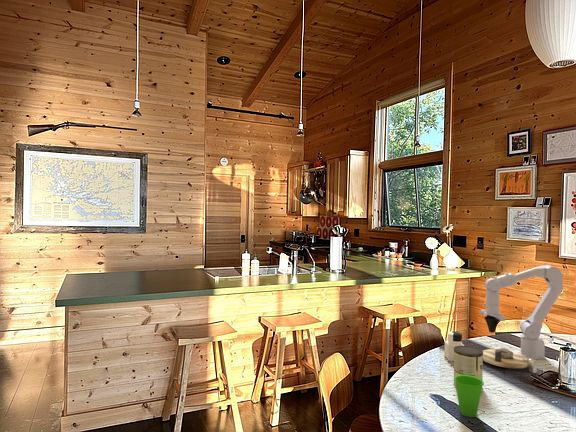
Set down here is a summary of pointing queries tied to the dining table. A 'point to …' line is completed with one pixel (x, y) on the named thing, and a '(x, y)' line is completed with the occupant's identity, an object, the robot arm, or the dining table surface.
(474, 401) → the cup
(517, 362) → the platter
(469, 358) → the coffee can
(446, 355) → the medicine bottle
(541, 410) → the dining table surface
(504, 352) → the cover
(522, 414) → the dining table surface
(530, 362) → the silver knobbed piece
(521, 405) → the dining table surface
